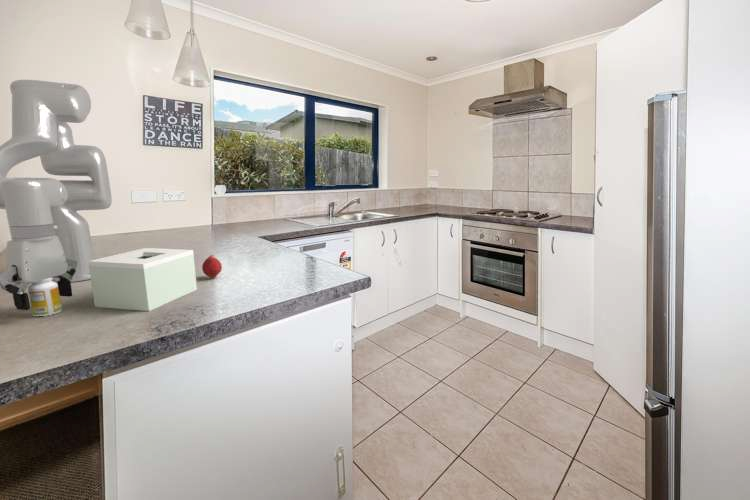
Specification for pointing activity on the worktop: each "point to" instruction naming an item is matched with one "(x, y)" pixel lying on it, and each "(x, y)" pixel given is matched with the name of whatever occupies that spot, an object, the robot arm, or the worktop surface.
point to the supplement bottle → (44, 297)
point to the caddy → (142, 278)
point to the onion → (211, 267)
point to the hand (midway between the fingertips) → (46, 302)
